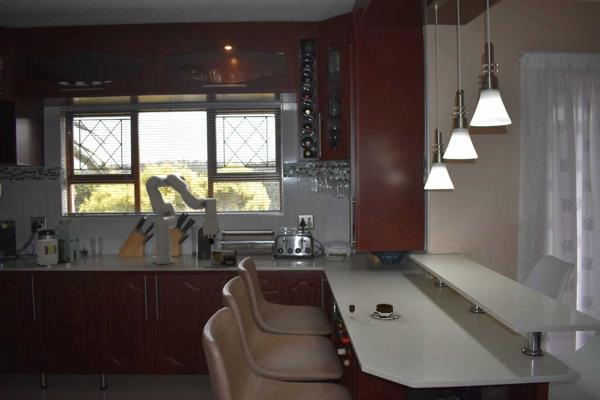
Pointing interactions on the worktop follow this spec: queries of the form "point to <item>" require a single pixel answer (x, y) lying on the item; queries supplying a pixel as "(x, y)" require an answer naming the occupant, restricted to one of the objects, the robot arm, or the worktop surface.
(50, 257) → the supplement box
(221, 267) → the mat
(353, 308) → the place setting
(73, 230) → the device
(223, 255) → the coffee box
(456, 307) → the worktop surface
